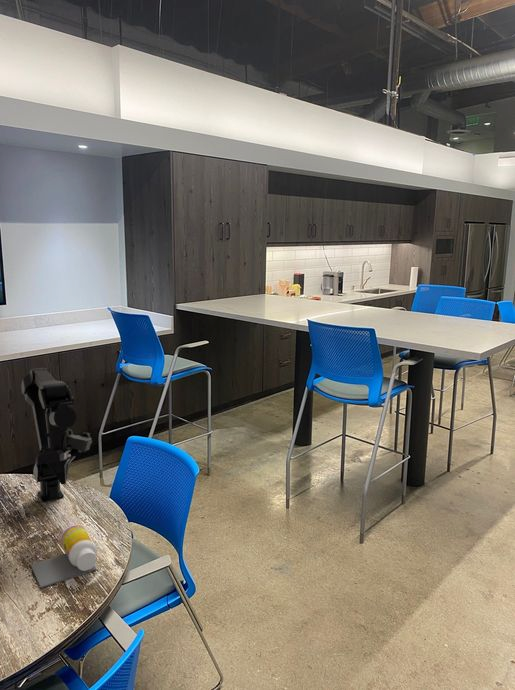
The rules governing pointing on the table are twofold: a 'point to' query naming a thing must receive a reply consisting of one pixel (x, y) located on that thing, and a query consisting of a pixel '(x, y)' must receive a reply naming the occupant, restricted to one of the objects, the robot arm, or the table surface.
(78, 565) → the supplement bottle
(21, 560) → the table surface
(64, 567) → the mat
